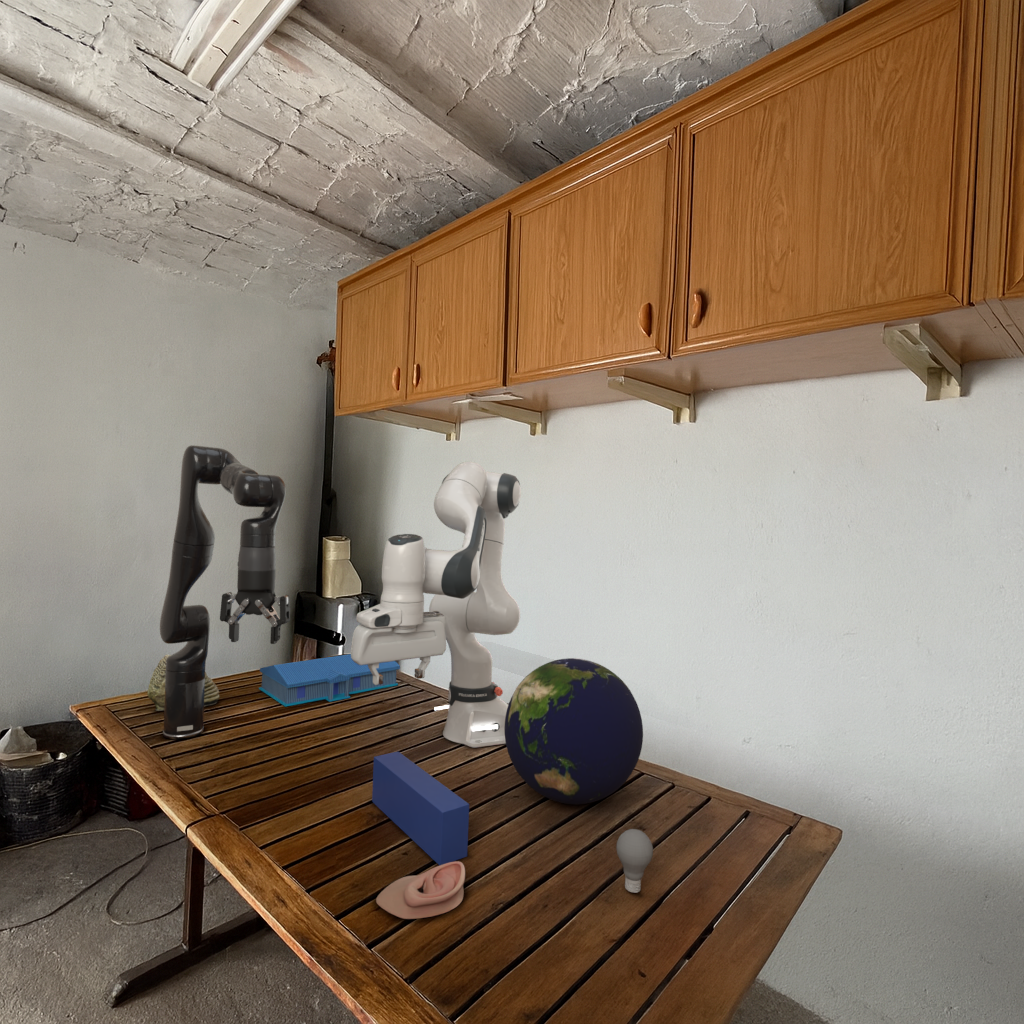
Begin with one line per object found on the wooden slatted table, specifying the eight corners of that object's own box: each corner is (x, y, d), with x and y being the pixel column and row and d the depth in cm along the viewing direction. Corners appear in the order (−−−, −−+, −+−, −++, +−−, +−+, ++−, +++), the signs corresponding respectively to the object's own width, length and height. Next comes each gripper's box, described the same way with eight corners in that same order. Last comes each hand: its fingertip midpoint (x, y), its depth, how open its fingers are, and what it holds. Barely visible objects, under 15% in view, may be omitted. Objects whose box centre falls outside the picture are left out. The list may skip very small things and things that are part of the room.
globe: (478, 811, 130) (485, 666, 129) (529, 759, 158) (535, 639, 157) (623, 847, 119) (630, 688, 118) (650, 784, 146) (656, 655, 146)
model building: (289, 709, 186) (291, 675, 185) (258, 688, 204) (259, 657, 204) (403, 687, 212) (405, 657, 212) (366, 670, 230) (368, 643, 230)
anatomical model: (368, 886, 97) (397, 847, 108) (367, 912, 97) (396, 870, 108) (451, 901, 94) (471, 859, 106) (450, 928, 94) (470, 883, 106)
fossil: (144, 707, 182) (145, 655, 182) (212, 696, 194) (213, 647, 194) (151, 716, 175) (153, 662, 175) (221, 703, 188) (223, 653, 188)
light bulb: (610, 879, 108) (613, 822, 108) (644, 879, 109) (647, 822, 109) (619, 902, 102) (622, 840, 102) (655, 901, 103) (658, 840, 103)
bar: (467, 856, 114) (469, 804, 114) (440, 866, 110) (442, 812, 110) (396, 795, 136) (398, 751, 136) (371, 801, 133) (373, 756, 132)
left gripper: (296, 567, 140) (293, 640, 140) (232, 564, 140) (229, 637, 140) (283, 570, 132) (280, 648, 132) (215, 567, 132) (212, 644, 133)
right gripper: (438, 607, 139) (435, 670, 139) (349, 614, 126) (346, 683, 126) (453, 612, 134) (450, 678, 134) (362, 620, 121) (359, 692, 121)
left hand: (254, 642), depth 136 cm, fingers open, 8 cm apart
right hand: (399, 680), depth 130 cm, fingers open, 8 cm apart
